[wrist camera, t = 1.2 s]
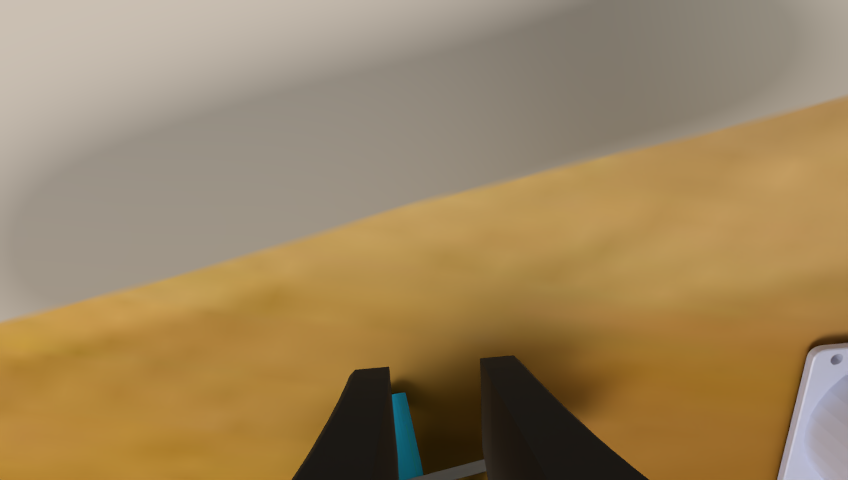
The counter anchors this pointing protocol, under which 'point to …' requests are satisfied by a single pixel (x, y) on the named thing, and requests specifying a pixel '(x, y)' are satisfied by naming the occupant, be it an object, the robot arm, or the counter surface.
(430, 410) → the counter surface
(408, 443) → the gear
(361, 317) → the counter surface
